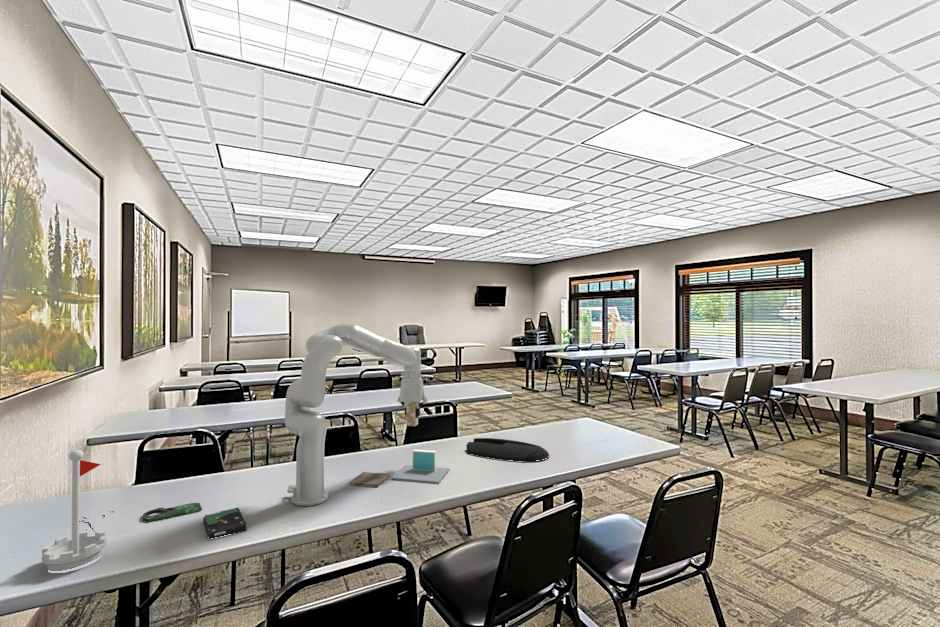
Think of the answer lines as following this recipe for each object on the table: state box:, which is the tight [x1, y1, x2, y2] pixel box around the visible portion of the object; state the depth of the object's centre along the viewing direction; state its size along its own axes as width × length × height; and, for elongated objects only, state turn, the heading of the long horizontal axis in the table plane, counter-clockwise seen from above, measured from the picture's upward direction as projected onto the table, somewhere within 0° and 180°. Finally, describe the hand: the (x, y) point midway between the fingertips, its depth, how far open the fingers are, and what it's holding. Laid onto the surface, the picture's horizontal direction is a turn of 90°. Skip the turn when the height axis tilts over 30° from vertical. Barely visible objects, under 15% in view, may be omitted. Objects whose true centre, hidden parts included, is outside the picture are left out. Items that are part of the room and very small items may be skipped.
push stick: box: [405, 402, 419, 427], centre depth 199 cm, size 4×4×11 cm
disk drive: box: [202, 507, 248, 540], centre depth 140 cm, size 10×3×15 cm
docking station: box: [465, 437, 550, 461], centre depth 218 cm, size 25×41×5 cm, turn 65°
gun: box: [142, 502, 203, 523], centre depth 150 cm, size 16×2×10 cm
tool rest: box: [348, 471, 391, 488], centre depth 180 cm, size 12×12×1 cm
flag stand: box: [41, 449, 108, 571], centre depth 120 cm, size 13×13×30 cm
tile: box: [412, 449, 437, 471], centre depth 190 cm, size 10×2×8 cm, turn 77°
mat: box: [391, 464, 451, 485], centre depth 187 cm, size 20×16×1 cm
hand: (412, 416), depth 199 cm, fingers closed on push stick, 4 cm apart
